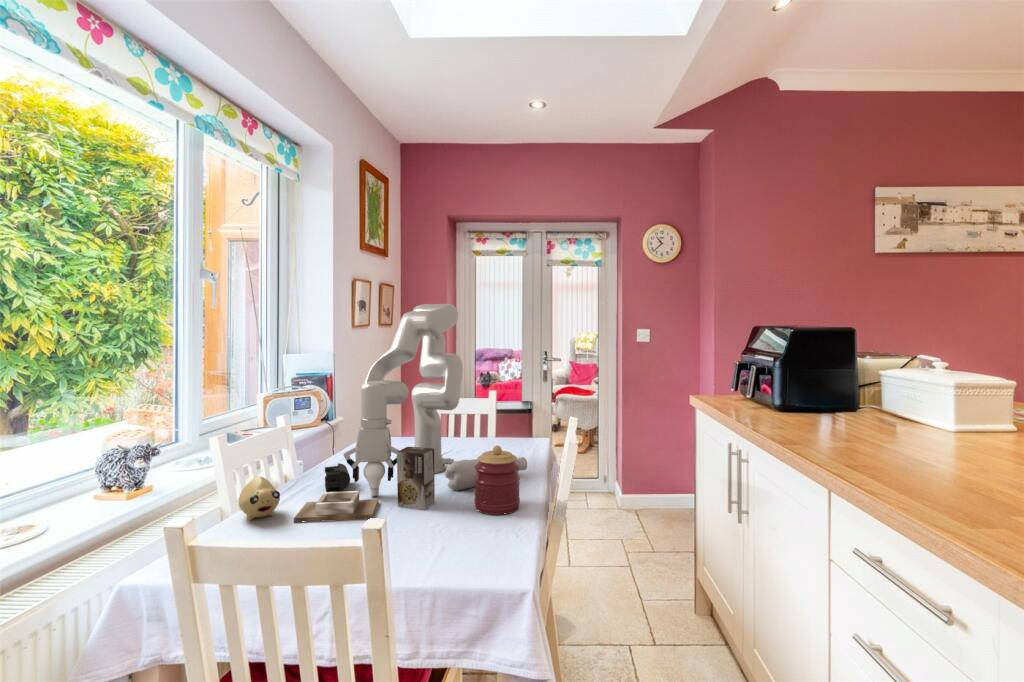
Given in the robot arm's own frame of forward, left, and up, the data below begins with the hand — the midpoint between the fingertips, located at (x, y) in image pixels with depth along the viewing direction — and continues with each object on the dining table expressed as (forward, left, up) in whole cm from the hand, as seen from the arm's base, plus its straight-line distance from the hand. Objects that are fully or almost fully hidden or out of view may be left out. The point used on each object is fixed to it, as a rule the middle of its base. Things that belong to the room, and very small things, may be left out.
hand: (373, 480), depth 147 cm
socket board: (+8, +11, -5) cm, 15 cm away
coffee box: (-13, +8, -5) cm, 17 cm away
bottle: (-36, -10, -6) cm, 38 cm away
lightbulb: (0, -1, -5) cm, 5 cm away
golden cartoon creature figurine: (+28, +12, -5) cm, 31 cm away
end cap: (+13, -11, -5) cm, 17 cm away
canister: (-36, +13, -5) cm, 39 cm away
